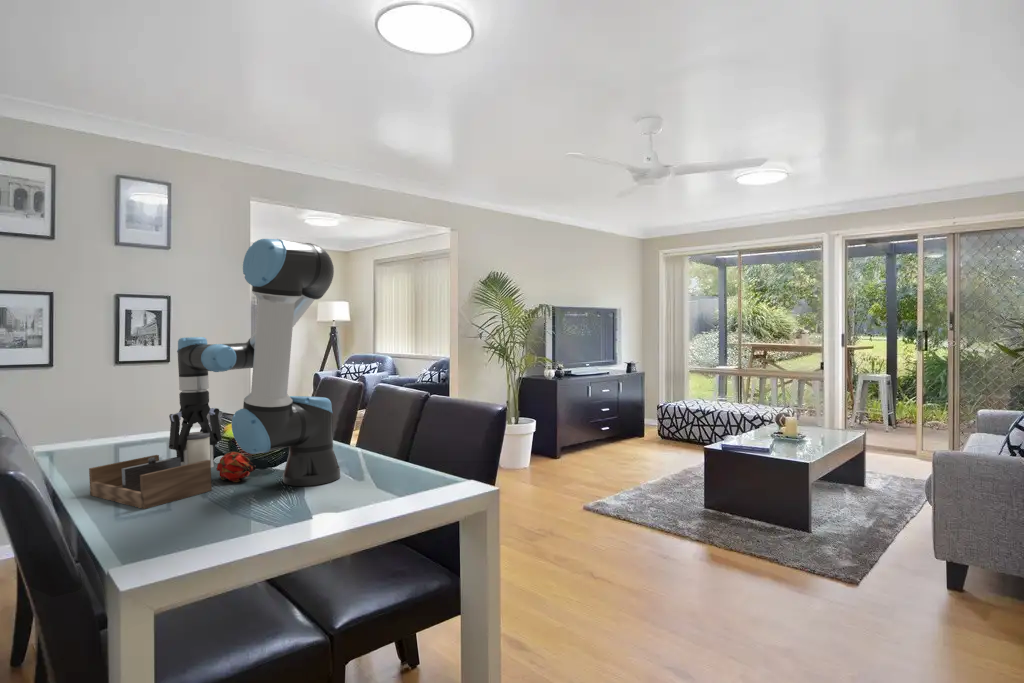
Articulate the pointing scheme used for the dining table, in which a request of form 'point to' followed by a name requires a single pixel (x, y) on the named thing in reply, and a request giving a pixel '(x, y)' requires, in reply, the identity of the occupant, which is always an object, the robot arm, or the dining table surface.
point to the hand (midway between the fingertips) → (197, 469)
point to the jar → (198, 447)
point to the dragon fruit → (234, 466)
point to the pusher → (146, 471)
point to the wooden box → (150, 483)
